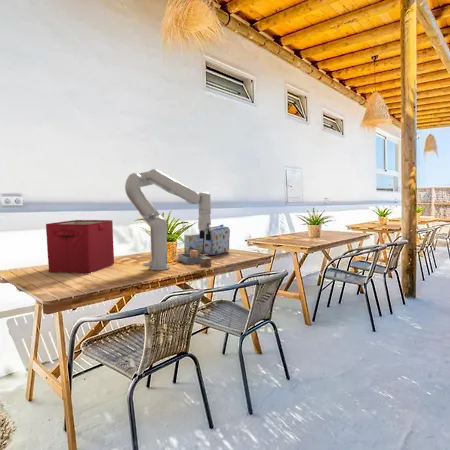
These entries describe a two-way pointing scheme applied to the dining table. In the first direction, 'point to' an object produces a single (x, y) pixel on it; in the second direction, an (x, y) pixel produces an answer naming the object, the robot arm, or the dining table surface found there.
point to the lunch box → (217, 241)
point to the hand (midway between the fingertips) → (205, 239)
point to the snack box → (193, 243)
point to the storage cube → (80, 245)
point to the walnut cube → (205, 261)
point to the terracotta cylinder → (193, 253)
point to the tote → (187, 260)
